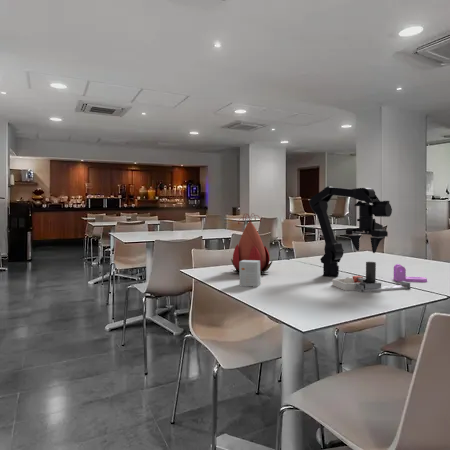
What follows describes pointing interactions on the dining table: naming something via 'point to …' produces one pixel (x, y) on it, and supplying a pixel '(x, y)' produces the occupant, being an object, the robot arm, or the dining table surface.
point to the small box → (249, 273)
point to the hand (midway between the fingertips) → (365, 251)
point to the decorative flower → (251, 248)
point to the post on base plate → (368, 277)
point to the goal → (344, 284)
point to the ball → (348, 280)
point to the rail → (384, 287)
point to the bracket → (401, 275)
